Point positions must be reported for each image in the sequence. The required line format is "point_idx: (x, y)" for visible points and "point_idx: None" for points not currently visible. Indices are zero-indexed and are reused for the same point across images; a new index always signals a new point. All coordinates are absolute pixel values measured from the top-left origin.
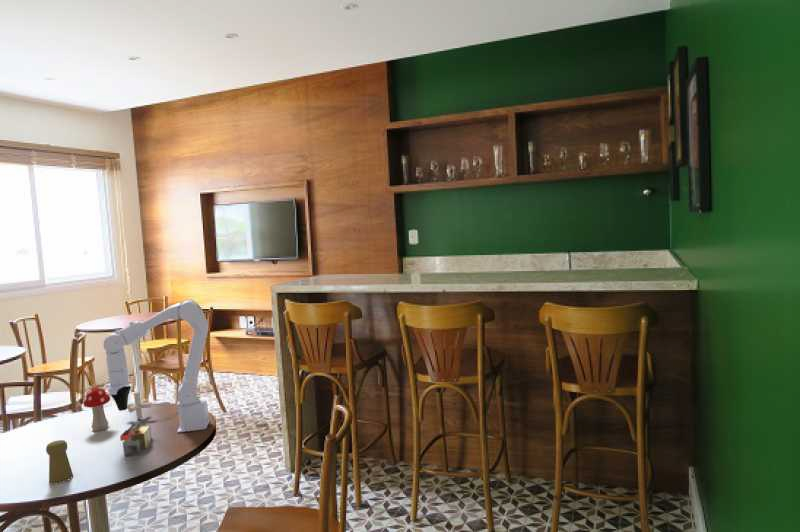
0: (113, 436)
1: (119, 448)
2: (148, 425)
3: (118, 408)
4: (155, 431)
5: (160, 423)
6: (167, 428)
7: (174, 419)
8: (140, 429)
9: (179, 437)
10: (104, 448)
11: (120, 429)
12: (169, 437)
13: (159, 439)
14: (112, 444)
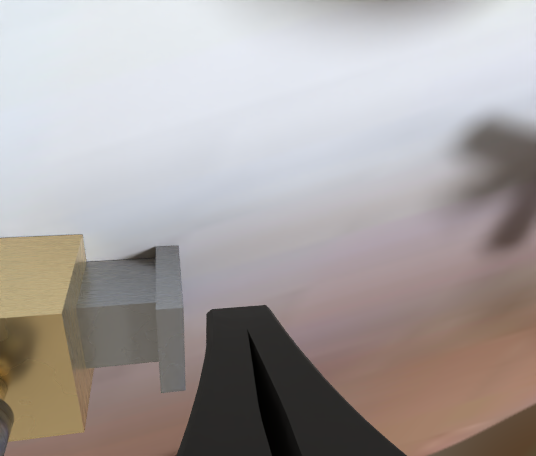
0: (354, 15)
1: (17, 165)
2: (179, 382)
3: (209, 334)
4: (301, 304)
5: (443, 287)
6: (320, 352)
7: (463, 340)
8: (23, 399)
9: (127, 451)
10: (49, 21)
11: (505, 29)
12: (147, 407)
13: (131, 370)
14: (139, 71)
